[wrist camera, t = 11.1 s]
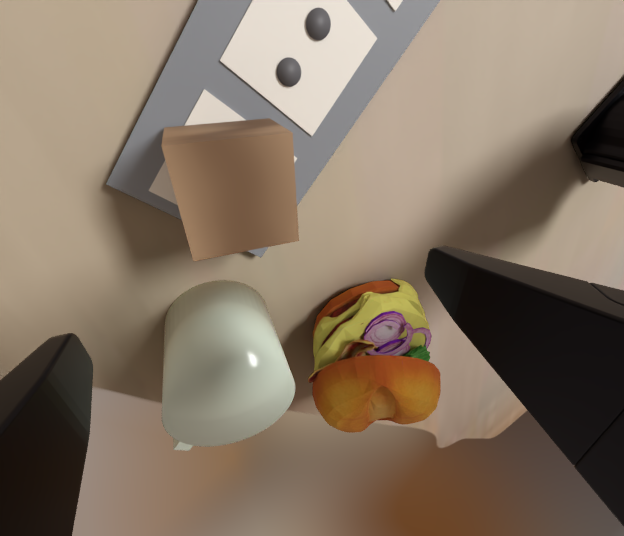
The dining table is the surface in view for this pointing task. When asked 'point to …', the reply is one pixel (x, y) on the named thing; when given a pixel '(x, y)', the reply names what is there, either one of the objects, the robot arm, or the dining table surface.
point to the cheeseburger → (373, 358)
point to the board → (270, 80)
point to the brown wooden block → (233, 185)
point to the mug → (222, 367)
